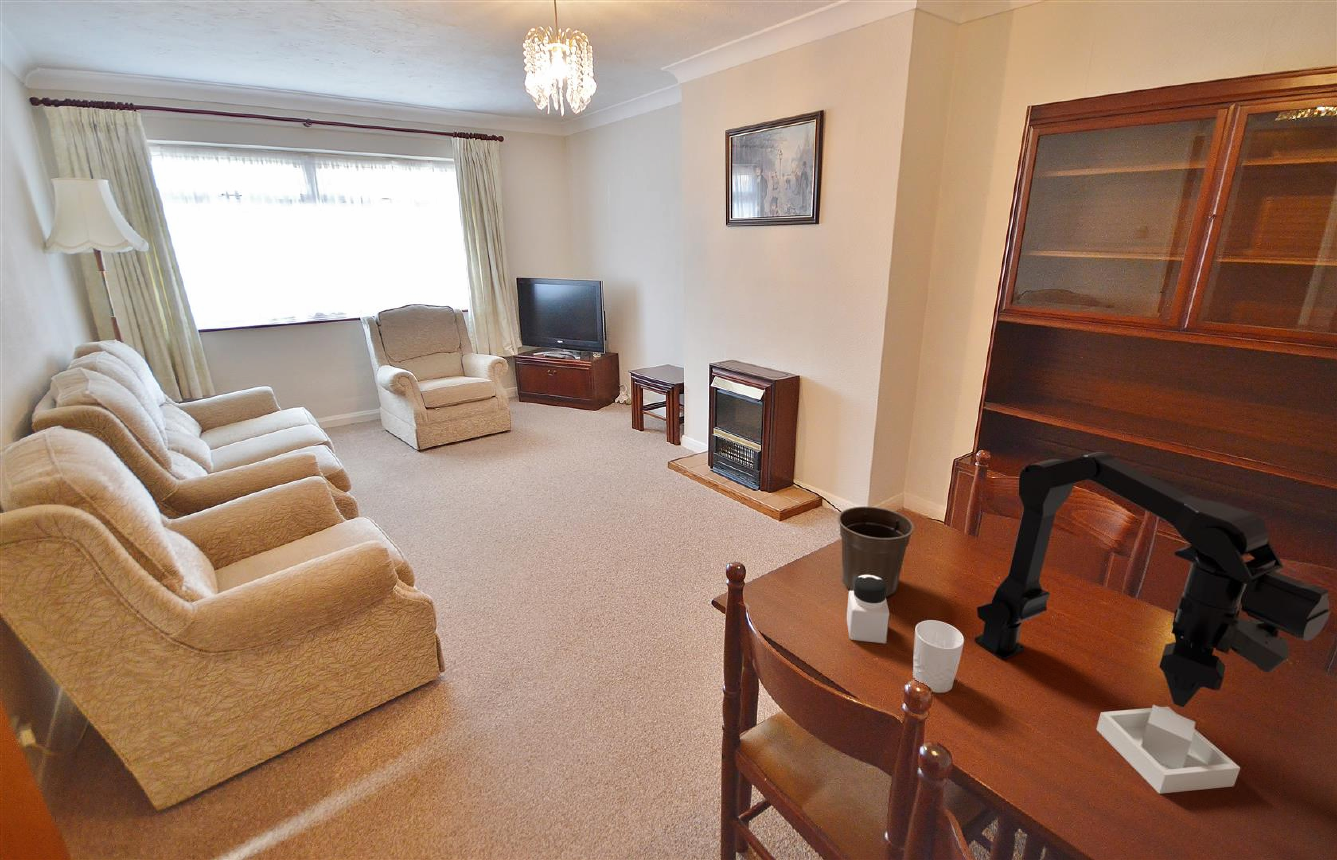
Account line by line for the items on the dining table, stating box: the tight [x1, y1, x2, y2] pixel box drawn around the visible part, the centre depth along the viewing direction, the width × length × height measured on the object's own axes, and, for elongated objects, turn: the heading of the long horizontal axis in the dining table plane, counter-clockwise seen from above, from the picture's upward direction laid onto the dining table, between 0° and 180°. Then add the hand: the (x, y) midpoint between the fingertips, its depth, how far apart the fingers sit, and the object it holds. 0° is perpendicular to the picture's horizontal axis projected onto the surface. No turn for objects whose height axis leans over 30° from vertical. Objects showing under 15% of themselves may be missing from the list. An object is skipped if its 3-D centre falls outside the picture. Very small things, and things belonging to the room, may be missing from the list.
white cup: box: [912, 619, 965, 694], centre depth 105 cm, size 8×8×10 cm
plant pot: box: [837, 506, 915, 597], centre depth 133 cm, size 16×16×16 cm
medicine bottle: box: [846, 575, 891, 644], centre depth 118 cm, size 7×7×12 cm
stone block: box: [1141, 704, 1196, 769], centre depth 89 cm, size 5×5×6 cm
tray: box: [1096, 706, 1241, 794], centre depth 89 cm, size 12×12×4 cm
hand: (1182, 688), depth 86 cm, fingers open, 9 cm apart
